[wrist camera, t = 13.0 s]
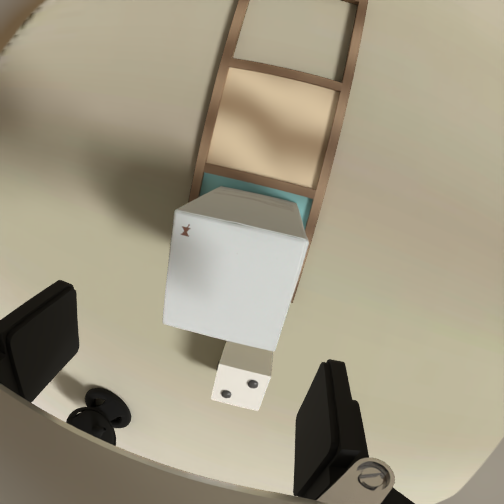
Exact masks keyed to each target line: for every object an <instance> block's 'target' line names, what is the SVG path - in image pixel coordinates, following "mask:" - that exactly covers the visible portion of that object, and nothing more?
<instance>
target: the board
mask: <svg viewBox="0 0 504 504" xmlns="http://www.w3.org/2000/svg"><path fill="white" fill-rule="evenodd" d="M249 1H250V0H239V1H238V4H237V8H236V11H235V14H234V17H233V21H232V24H231V27H230V31H229V34H228V37H227V41H226V44H225V48H224V51H223V55H222V59H221V62H220V66H219V70H218V73H217V77H216V81H215V85H214V89H213V93H212V97H211V101H210V105H209V109H208V113H207V117H206V121H205V126H204V130H203V134H202V139H201V143H200V148H199V152H198V157H197V162H196V166H195V171H194V176H193V181H192V186H191V191H190V196H189V201H188V203H189V202H191V201H193V200H195V199H197V198H198V197H200V196H202V195H204V194H206V193H208V192H210V191H212V190H214V189H216V188H218V187H220V186H224V187H229V188H233V189H238V190H243V191H248V192H252V193H257V194H262V195H266V196H271V197H275V198H279V199H283V200H287V201H291V202H294V203H297V206H298V209H299V212H300V215H301V219H302V222H303V226H304V230H305V233H306V236H307V238H308V241H309V245H308V248H307V251H306V255H305V258H304V262H303V265H302V268H301V272H300V275H299V278H298V281H297V285H296V288H295V291H294V294H293V297H292V300H291V303H293V300H294V297H295V294H296V290H297V287H298V284H299V281H300V277H301V274H302V271H303V268H304V264H305V261H306V258H307V254H308V251H309V248H310V244H311V241H312V237H313V234H314V230H315V227H316V223H317V220H318V216H319V213H320V209H321V205H322V202H323V198H324V195H325V191H326V187H327V183H328V180H329V176H330V172H331V168H332V164H333V160H334V156H335V152H336V149H337V145H338V140H339V136H340V132H341V128H342V124H343V120H344V116H345V111H346V107H347V103H348V98H349V94H350V89H351V85H352V80H353V76H354V71H355V66H356V61H357V57H358V52H359V47H360V42H361V37H362V31H363V26H364V21H365V15H366V10H367V4H368V0H342V1H345V2H349V3H352V4H356V5H358V6H357V11H356V16H355V22H354V27H353V32H352V36H351V41H350V46H349V51H348V56H347V60H346V65H345V70H344V74H343V79H342V83H341V82H337V81H334V80H330V79H327V78H323V77H320V76H316V75H312V74H308V73H304V72H300V71H296V70H291V69H287V68H282V67H278V66H273V65H268V64H263V63H258V62H252V61H246V60H240V59H234V58H233V55H234V52H235V48H236V45H237V41H238V38H239V34H240V31H241V27H242V24H243V20H244V17H245V14H246V10H247V7H248V4H249Z"/></svg>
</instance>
